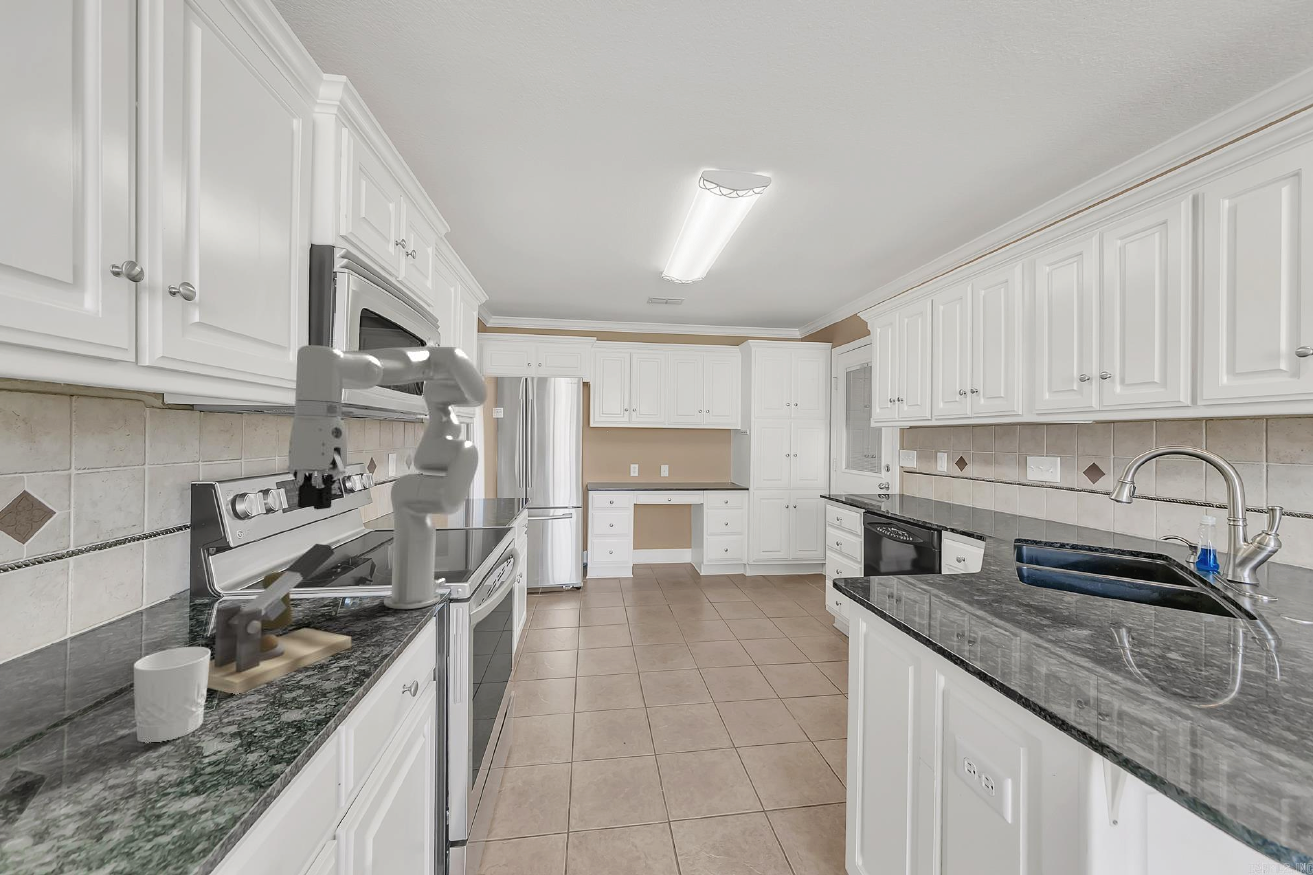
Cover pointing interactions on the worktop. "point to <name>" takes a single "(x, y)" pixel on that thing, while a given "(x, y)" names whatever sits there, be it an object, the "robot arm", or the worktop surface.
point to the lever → (287, 583)
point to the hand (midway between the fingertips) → (314, 506)
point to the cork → (286, 615)
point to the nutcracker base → (263, 651)
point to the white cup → (170, 693)
